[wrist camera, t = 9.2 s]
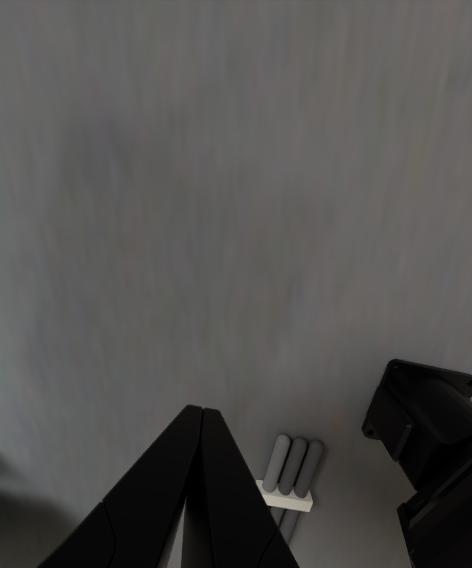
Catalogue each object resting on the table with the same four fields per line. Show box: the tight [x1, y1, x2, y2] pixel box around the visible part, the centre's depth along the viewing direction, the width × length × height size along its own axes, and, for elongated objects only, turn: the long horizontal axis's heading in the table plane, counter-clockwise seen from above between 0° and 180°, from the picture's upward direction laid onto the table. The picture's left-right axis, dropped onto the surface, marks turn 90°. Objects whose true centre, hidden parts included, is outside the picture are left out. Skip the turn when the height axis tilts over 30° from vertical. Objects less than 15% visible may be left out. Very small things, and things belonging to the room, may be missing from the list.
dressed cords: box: [256, 434, 323, 545], centre depth 27 cm, size 4×23×1 cm, turn 167°
